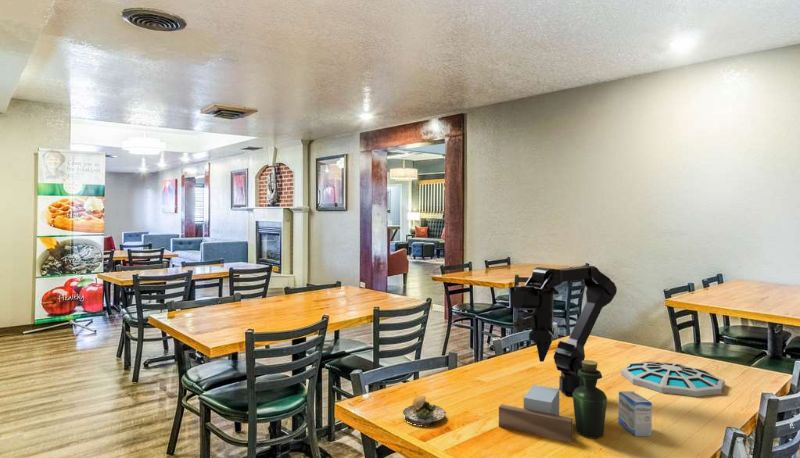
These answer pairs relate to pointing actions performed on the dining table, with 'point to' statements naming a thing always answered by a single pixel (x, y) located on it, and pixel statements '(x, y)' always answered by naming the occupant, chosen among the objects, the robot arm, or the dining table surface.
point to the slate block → (542, 399)
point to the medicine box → (635, 413)
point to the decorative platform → (673, 378)
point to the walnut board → (536, 422)
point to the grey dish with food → (423, 412)
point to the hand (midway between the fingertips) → (541, 361)
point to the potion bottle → (589, 402)
